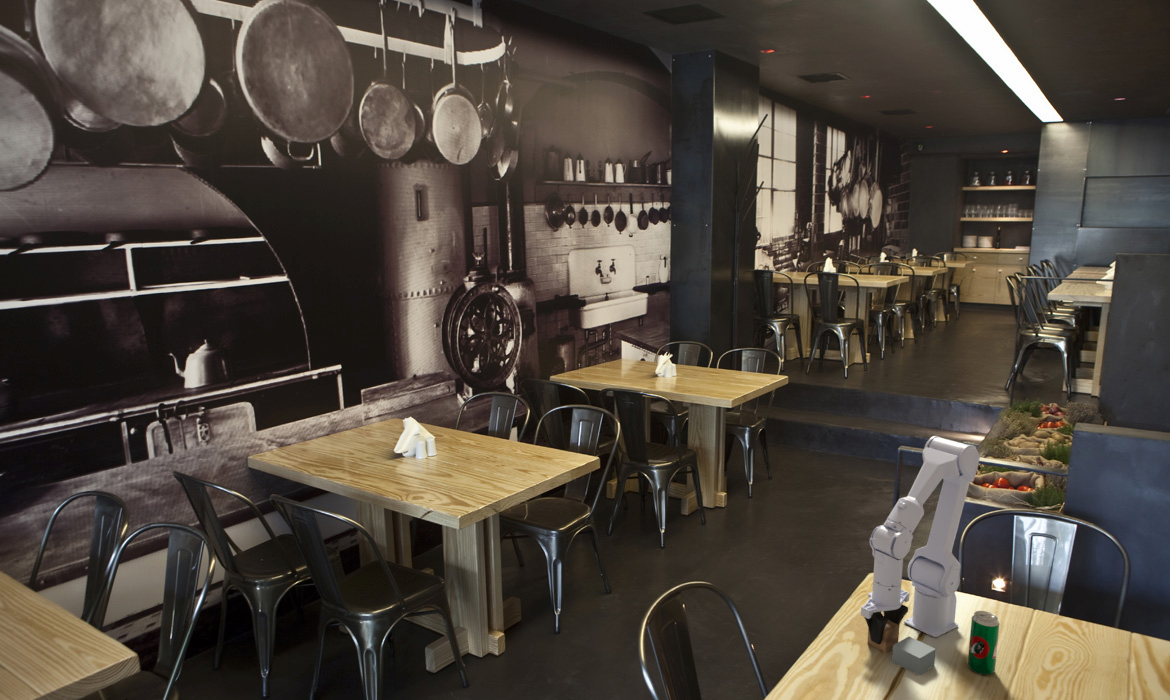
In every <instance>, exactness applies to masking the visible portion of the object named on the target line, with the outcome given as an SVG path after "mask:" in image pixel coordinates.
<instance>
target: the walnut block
mask: <svg viewBox="0 0 1170 700" xmlns="http://www.w3.org/2000/svg"><path fill="white" fill-rule="evenodd" d="M867 631H868V632H867V642H866V643H867V644H868V645H870V646H872V647H874V648H876V649H878V650H880V651H882V652H884V653H887V652H889V651H891V650H892V651H893V645H894V644H896V643H898V642H899V637H900V636H899V635H900V625H898V624H896V623H894V622H892V621H890V620H889V621H888V622H887V624H886V626H885V629H884V633H883V639H882V642H881V644H877V643H875V642H873V641H871V637H870V632H869V628H868V630H867Z"/></svg>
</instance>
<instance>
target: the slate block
mask: <svg viewBox="0 0 1170 700" xmlns="http://www.w3.org/2000/svg"><path fill="white" fill-rule="evenodd" d="M936 651H937V649H936V648H934V647H933V646H931V645H928V644H927V643H925V642H923V641H920V640H918V639H915V638H914V637H911V636H907V637H905V638H903V639H902V640H900V641H898V643H896V644H894V645H893V649H892V657H891V662H892V663H893V664H895V665H897V666H899V667H901V668H903V669H905V670H907V671H908V672H909V671H910V672H912V673H913V674H915V675H917V676H920V675H921V674H923V673H925V672H926V671H928V670H930V669H931V668H933V667H934V666H935V661H936Z"/></svg>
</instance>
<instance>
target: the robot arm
mask: <svg viewBox="0 0 1170 700" xmlns="http://www.w3.org/2000/svg"><path fill="white" fill-rule="evenodd" d="M980 458H981V456H980V454H979V452H978V449H977V448H976V446H975V445H972V444H965V443H962V442H959V441H955V440H952V439H948V438H943V437H940V436H938V435H933V436H931V437H930V438H929V439H928V440H927V441H926V443H925V445H924V448H923V450H922V461H923V463H922V466H921V468H920V470H919V472H918V474H917V476H916V478H915V479H914V482H913V484H912V486H911V488H910V490H909V492H908V494H907V496H904V497H900V498H899V499H898V500H897V502H896V504H895V505H894V507H893V508H892V510H891V511H890V513H889V515H888V516H887V518H886V520H885V522H884V523H883V524H881V525H879V526H876V527H875V528H874V529H873V531H872V533H871V535H870V537H869V546H870V548H871V549H872V557H873V558H874V563H873V577H872V578H873V579H872V591H871V592H868V594H867V597H868V600H867V601H866V602H865V604H864V605H862V606H861V607H860V616H862V617H863V618H864V619H865V622H866V624H867V627H868V628H869V632H870V637H871V641H873V642H875V643H877V644H881V642H882V639H883V633H884V629H885V626H886V624H887V622H888V621H889V620H890V621H892V622H894V623H896V624H898V625H899V626H900V624H901V623H902V621H903V623H904V624H906V625H908V626H910V627H913V628H914V629H915V630H918V631H920V632H923V633H924V634H927V635H928V636H931V637H933V638H938V637H939V636H942V635H944V634H945V633H948V632H950V631H952V630H954V629H956V628H957V627H959V623H958V622H957V623H956V611H957V610H956V609H957V596H956V591H958V588H959V586H960V583H961V579H960V572H961V566H962V565H961V563H960V562H959V561H958V559H957V558H956V557H955V556H954V554H953V547H954V544H955V540H956V536H957V532H958V529H959V524H960V522H961V517H962V514H963V509H964V505H965V503H966V502H965V501H966V498H967V494H968V491H969V487H970V483H972V482H974V481H975V477H976V475H977V470H978V466H979V463H980V460H981V459H980ZM942 480H943V482H942V485H941V490H940V493H939V498H938V500H937V506H936V510H935V511H934V516H933V520H932V523H931V524H932V525H931V528H930V532H929V535H928V539H927V544H926V545H924V546H922V547H919V548H917V549H915V550H914V554H913V556H912V558H911V559H910V561H909V563H908V566H907V577H908V578H909V580H911V582H912V583H911V586H912V587H914V596H913V605H912V606H913V607H912V616H911V617H909V618H907V619H905V620H903V619H904V617H905V616H906V615H907V613H908V612H909V607H908V606H906V605H904V602H905V603H907V602H909V601H910V595H911V594H910V592H909V591H906V590H904V589H902V582H903V581H902V580H903V569H904V568H903V567H904V558H905V557H906V556H907V555H908V554H909V552H910V550H911V546H912V542H913V541H912V540H913V538H914V535H913V533H914V532H915V530H916V528H917V526H918V525H919V522H920V521H921V520H922V518H923V517H924V515H925V509H924V506H923V505H924V504H925V503H926V501H927V500H928V498H929V497H930V496H931V495H932V493H933V492H934V491H935V489H936V488H937V487H938V485H939V484H940V482H941V481H942ZM882 612H883V613H882Z"/></svg>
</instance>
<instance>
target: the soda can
mask: <svg viewBox="0 0 1170 700" xmlns="http://www.w3.org/2000/svg"><path fill="white" fill-rule="evenodd" d="M999 632H1000V622H999V618H998V616H997V615H996V614H994V613H992V612H989V611H985V610H977V611H976V610H975V611H974V613H973V615H972V617H971V623H970V634H969V635H970V636H969V645H968V655H967V666H968V667H969V669H970V670H971V671H973V673H976V674H979V675H982V676H990V675H992V674H994V673H995V671H996V664H997V663H996V662H997V654H998V644H999V643H998V641H999V634H1000V633H999Z"/></svg>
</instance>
